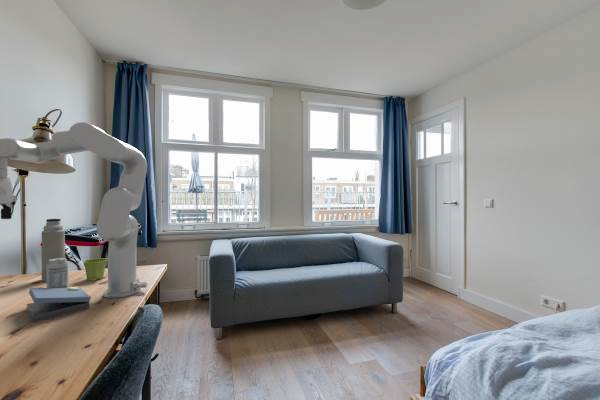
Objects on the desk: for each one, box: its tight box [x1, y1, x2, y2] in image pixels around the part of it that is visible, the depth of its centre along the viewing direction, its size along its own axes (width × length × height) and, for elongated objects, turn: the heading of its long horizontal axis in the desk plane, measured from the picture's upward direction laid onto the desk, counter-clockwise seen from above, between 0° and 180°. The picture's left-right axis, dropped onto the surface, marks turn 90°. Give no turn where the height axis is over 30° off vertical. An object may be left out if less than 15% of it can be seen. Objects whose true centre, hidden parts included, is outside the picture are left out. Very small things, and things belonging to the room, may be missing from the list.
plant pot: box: [82, 257, 108, 281], centre depth 124 cm, size 9×9×9 cm
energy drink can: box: [46, 257, 69, 288], centre depth 99 cm, size 6×6×15 cm
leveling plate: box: [28, 286, 92, 303], centre depth 91 cm, size 14×14×2 cm
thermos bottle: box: [41, 218, 66, 282], centre depth 123 cm, size 8×8×28 cm
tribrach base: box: [26, 302, 90, 323], centre depth 90 cm, size 14×14×2 cm
